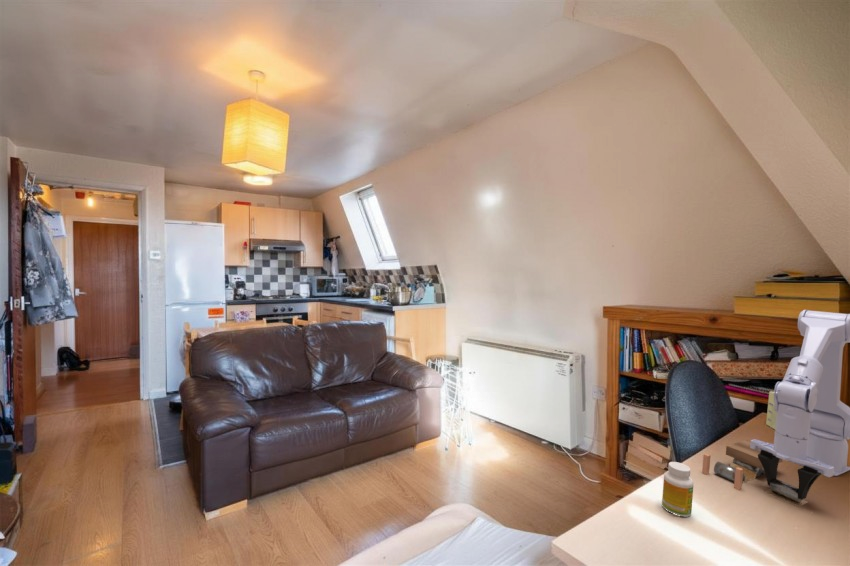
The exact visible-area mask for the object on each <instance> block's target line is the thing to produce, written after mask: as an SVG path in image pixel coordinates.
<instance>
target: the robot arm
mask: <svg viewBox="0 0 850 566" xmlns="http://www.w3.org/2000/svg"><path fill="white" fill-rule="evenodd" d="M797 330H798V331H799V333H800V336H802V337H803V340H802V345H801V349H800V352H799V353H800V354H799V356H795V357H793V358H791V360H790V362H789V364H788V367H787V369H786V372H785V374H784V377H783V379H782V380H781V381H777V382H776V383H775V385H774V390H773V392H774V403H775V407H774V409H775V411H776V412H777V413H776V425H775V429H774V435H773V437H774V439H773V443H770V442H766V441H763V440H759V439H757V438H754V439H751V440H750V441H751V443H750V448H752V449H758V450H760V451H761V452H760V454H758V458H759V460H760V462H761V464H762V466H763V468H764V471H765V474H764V475H765V476H766V477H765V478H766V482H767V486H768V487H770V483H771V481H772V479H774V478H775V479H777V474H778V468H779V460H780V459H782V461H783V460H784V461H787V462H790V463H791V464H792V463H793V464H796V465H798V466H800V468H798V469H797V476H798V487H797V488H798V498H799V499H801V500H805V499H806V498H807V496H808V493H809V491H810V489H811V487H812V486H813V484H814V483H815V482H816V481H817V479H818V478H819V477H820V476H821V475H823V476H824V477H827V478H831V477H833V476H835V477H838V476H840V475H842V474H845V473H846V472H849V471H850V466H849V465H848V466H847V464H848V455H849V442H848V441H847V440H850V406H849V405H847V404H845V403H844V402H843V401H842V400H841V387H842V386H841V385H842V370H843V369H842V368H843V357H844V356H843V354H844V353H843V352H844V347H845V345H846V344H848V343H850V313H841V312H829V311H828V312H827V311H818V310H809V309H803V310H802V311H800V312H799V315H798V318H797Z"/></svg>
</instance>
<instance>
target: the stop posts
mask: <svg viewBox="0 0 850 566" xmlns="http://www.w3.org/2000/svg"><path fill="white" fill-rule="evenodd" d="M711 456H712V455H711V454H708V453H703V456H702V471H701V473H702V474H704V475H710V469H711V468H710V467H711ZM742 478H743V469H742V468H739V467H737V468H736V470H735V482H733V483H734V485H733V488H734V489H736V490H738V491H740V490H742V489H743V487H742V486H743V481H742Z"/></svg>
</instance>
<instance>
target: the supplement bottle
mask: <svg viewBox="0 0 850 566" xmlns="http://www.w3.org/2000/svg"><path fill="white" fill-rule="evenodd" d="M667 469H668V470H667V471H666V472H665V473H664V475H663V483H662V485H663V486H662V497H661V498H662V499H661V506H662V505H663V506H662V507H664V508H665V509H667V510H668V511H670V512H672V513H675V514H677V515H680V516H684V517H683V518H688V516H689V517H691V515H692V512H693V511H692V508H693V498H694V497H693V496H694V481H693V479H692V478H691V468H690V466H688V465H687V464H684V463H681V462H677V461H670V462H668V466H667ZM664 508H663V509H664ZM665 509H664V510H665ZM668 511H667V512H668ZM680 516H679V517H680Z"/></svg>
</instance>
